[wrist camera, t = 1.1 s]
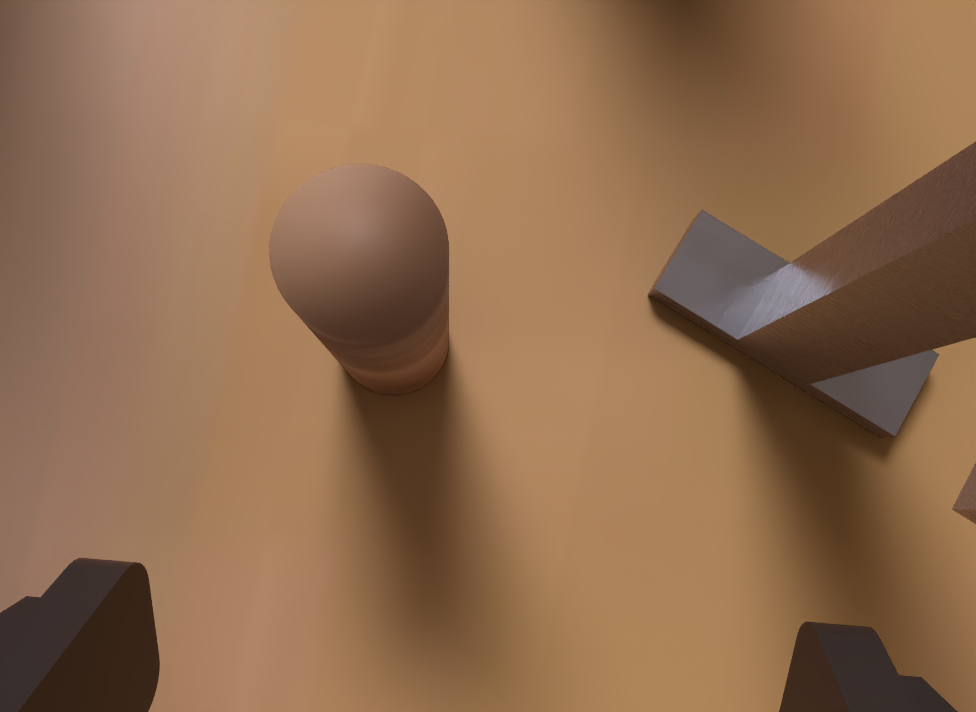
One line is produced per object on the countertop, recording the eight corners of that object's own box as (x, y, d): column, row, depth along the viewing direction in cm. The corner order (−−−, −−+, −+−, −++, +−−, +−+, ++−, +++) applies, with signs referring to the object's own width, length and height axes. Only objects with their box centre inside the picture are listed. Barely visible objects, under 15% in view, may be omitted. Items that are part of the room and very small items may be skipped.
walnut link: (316, 357, 31) (233, 275, 19) (377, 266, 31) (334, 131, 19) (410, 416, 30) (386, 371, 19) (469, 323, 31) (482, 223, 19)
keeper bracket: (557, 443, 30) (789, 350, 10) (694, 218, 32) (1145, -274, 11) (797, 593, 30) (1571, 830, 9) (923, 358, 32) (1829, 113, 11)
